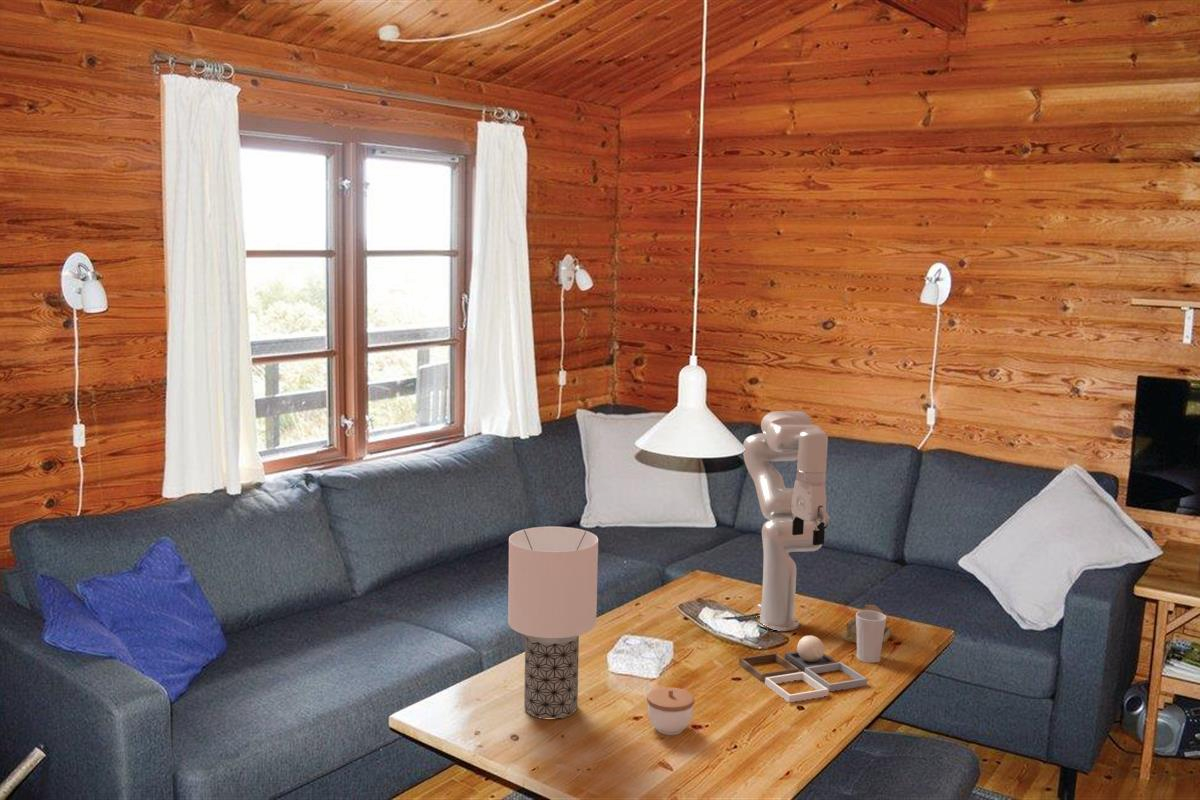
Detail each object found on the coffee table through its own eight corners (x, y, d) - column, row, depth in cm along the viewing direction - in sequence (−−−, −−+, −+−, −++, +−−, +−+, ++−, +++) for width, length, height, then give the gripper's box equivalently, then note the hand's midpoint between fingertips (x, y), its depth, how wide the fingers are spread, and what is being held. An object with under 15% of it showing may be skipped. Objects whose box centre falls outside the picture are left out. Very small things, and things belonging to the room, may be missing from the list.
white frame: (764, 684, 263) (765, 677, 263) (802, 678, 267) (802, 671, 267) (789, 702, 253) (789, 695, 252) (827, 696, 257) (828, 689, 257)
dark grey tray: (784, 658, 279) (784, 653, 279) (815, 654, 283) (816, 648, 283) (805, 673, 270) (805, 667, 270) (837, 668, 274) (837, 662, 274)
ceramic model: (868, 649, 288) (870, 615, 286) (835, 637, 296) (837, 603, 294) (897, 638, 297) (900, 604, 295) (864, 626, 305) (866, 593, 304)
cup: (880, 653, 285) (883, 611, 283) (885, 664, 277) (888, 621, 275) (851, 651, 286) (853, 609, 284) (855, 663, 278) (858, 620, 276)
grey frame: (804, 674, 270) (804, 667, 269) (840, 668, 274) (840, 662, 274) (829, 691, 259) (829, 684, 259) (866, 685, 264) (866, 678, 263)
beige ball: (812, 668, 272) (814, 644, 271) (791, 659, 278) (792, 635, 277) (829, 662, 276) (831, 638, 275) (808, 653, 282) (809, 630, 281)
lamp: (554, 682, 261) (556, 521, 255) (612, 709, 247) (616, 540, 241) (489, 706, 247) (490, 537, 241) (547, 737, 233) (550, 557, 226)
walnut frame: (739, 664, 275) (739, 658, 275) (775, 659, 279) (775, 652, 279) (761, 681, 265) (761, 674, 264) (798, 675, 269) (799, 668, 269)
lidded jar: (679, 744, 231) (680, 704, 229) (637, 731, 236) (638, 692, 235) (701, 726, 240) (702, 687, 238) (660, 714, 245) (661, 676, 244)
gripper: (781, 470, 282) (778, 532, 284) (817, 485, 266) (814, 549, 268) (804, 469, 284) (801, 529, 287) (842, 483, 269) (838, 547, 271)
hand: (807, 539), depth 278 cm, fingers open, 9 cm apart
